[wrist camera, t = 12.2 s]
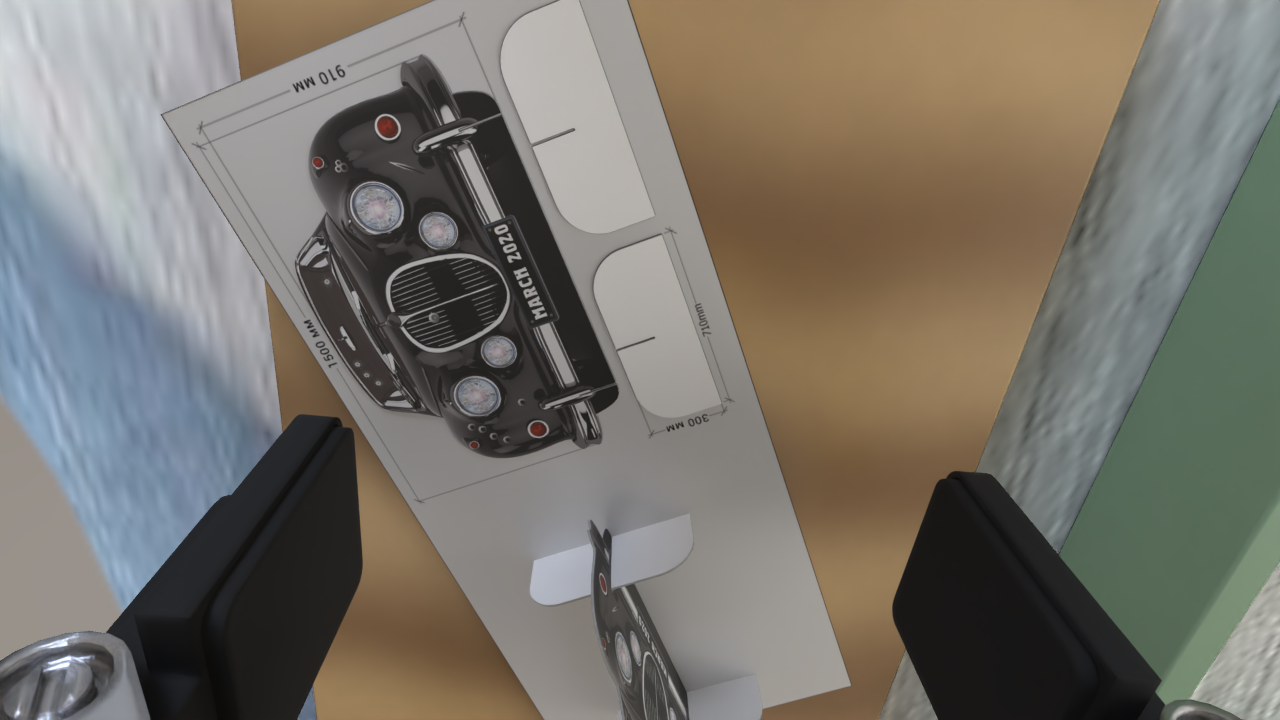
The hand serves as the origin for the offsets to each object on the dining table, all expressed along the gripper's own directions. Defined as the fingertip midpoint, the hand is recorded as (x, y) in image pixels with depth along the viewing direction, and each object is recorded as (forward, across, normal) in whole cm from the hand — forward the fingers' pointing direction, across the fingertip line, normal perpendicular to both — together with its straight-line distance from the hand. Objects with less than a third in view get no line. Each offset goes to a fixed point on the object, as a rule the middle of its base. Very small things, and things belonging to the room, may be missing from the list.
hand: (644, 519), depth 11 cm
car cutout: (+2, +1, 0) cm, 2 cm away
